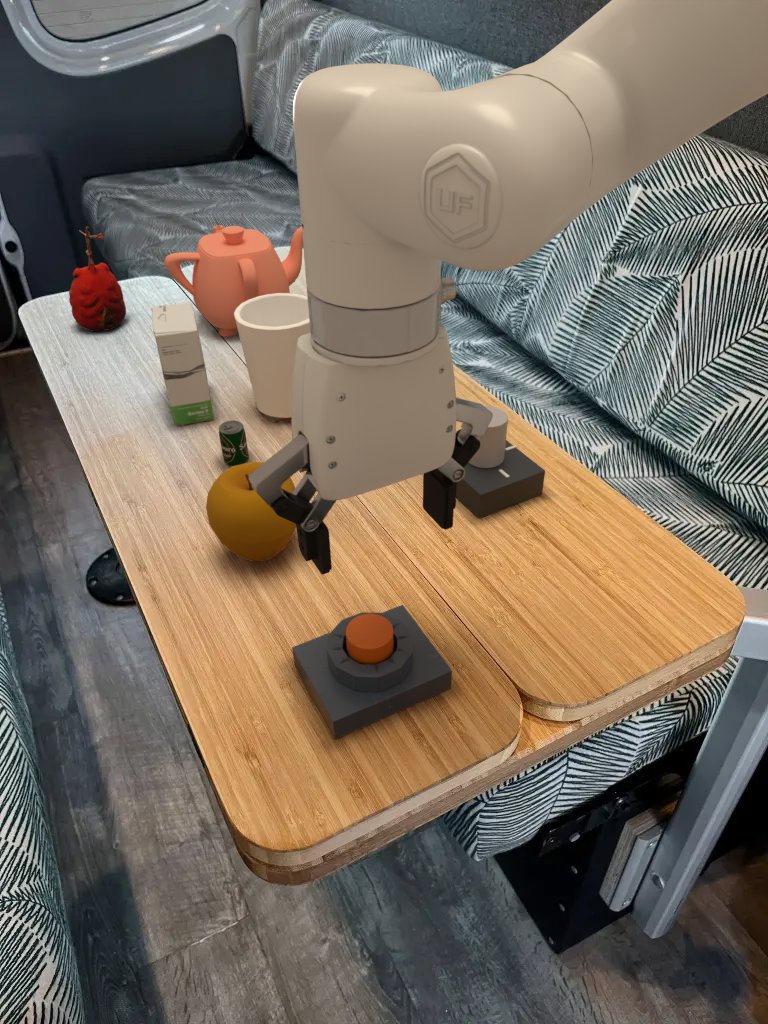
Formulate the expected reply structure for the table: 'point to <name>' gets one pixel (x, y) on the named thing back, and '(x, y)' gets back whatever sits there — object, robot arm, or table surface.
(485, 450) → the dial
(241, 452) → the beer can
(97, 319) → the red lychee
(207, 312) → the teapot
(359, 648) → the button
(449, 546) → the table surface
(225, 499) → the apple
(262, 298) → the cup
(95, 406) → the table surface
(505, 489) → the console
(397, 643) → the block
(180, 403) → the ink box
